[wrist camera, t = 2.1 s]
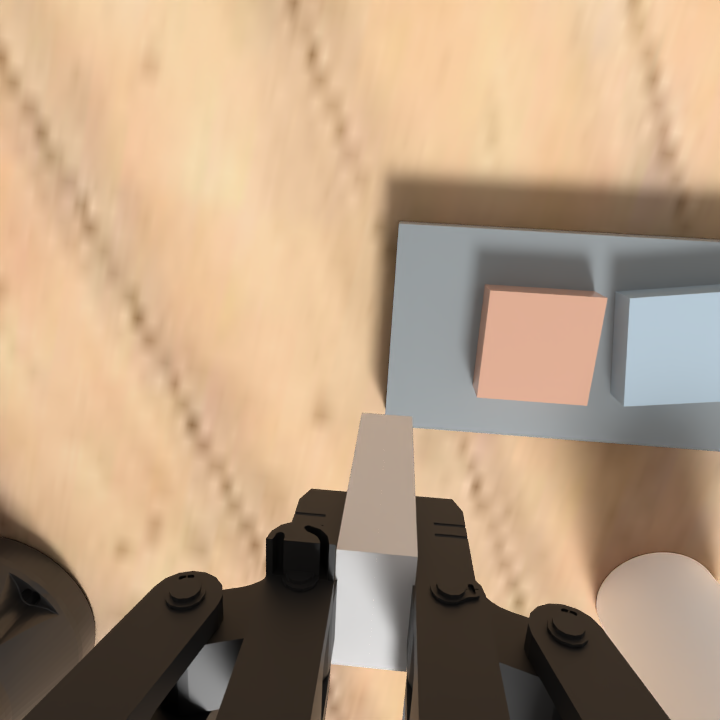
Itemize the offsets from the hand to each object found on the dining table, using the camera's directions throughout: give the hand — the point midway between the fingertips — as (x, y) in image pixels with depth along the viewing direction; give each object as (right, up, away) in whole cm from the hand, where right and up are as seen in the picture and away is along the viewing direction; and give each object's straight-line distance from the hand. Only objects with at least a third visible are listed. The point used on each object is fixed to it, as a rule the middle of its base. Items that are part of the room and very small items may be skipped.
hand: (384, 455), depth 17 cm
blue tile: (+17, +4, +14) cm, 22 cm away
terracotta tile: (+9, +4, +15) cm, 18 cm away
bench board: (+12, +5, +17) cm, 21 cm away
